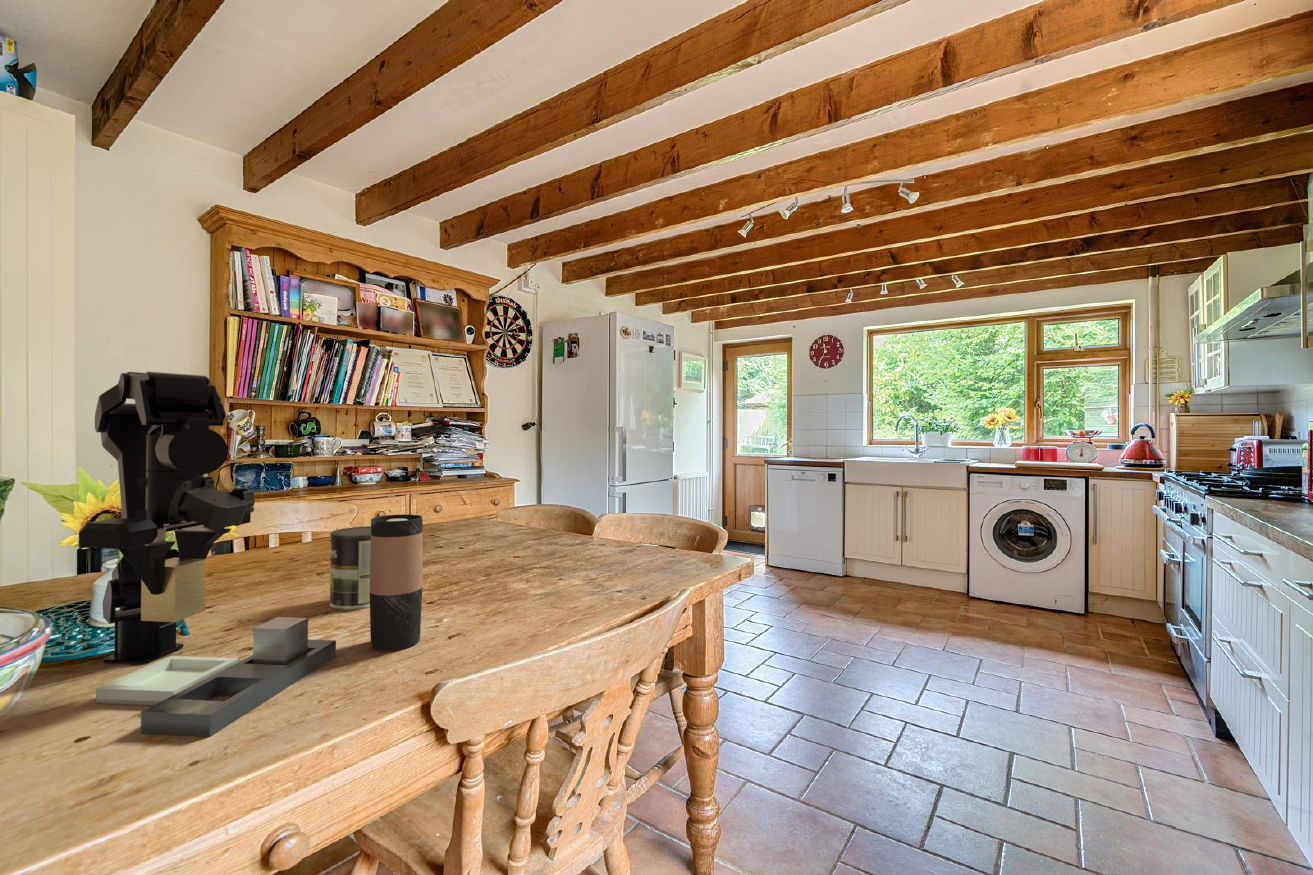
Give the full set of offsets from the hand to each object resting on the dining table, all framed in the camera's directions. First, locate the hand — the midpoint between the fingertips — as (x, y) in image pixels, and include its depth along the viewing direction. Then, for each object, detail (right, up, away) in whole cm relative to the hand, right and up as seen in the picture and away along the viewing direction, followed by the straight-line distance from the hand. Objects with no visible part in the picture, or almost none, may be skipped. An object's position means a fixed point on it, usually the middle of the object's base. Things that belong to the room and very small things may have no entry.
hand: (174, 588), depth 73 cm
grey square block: (+11, -13, +5) cm, 18 cm away
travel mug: (+21, -13, +16) cm, 30 cm away
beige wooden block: (0, -4, 0) cm, 4 cm away
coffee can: (+5, -13, +37) cm, 39 cm away
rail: (+11, -13, 0) cm, 17 cm away
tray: (0, -13, 0) cm, 13 cm away
